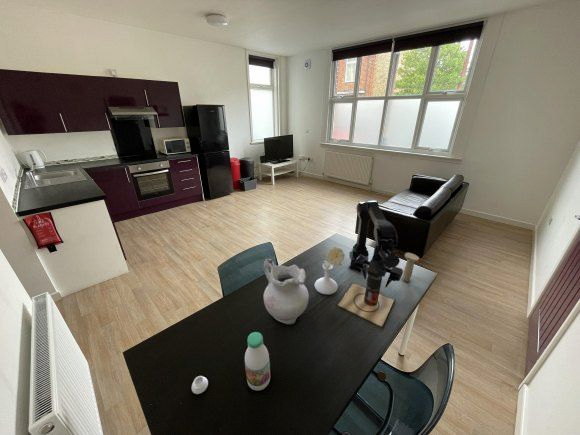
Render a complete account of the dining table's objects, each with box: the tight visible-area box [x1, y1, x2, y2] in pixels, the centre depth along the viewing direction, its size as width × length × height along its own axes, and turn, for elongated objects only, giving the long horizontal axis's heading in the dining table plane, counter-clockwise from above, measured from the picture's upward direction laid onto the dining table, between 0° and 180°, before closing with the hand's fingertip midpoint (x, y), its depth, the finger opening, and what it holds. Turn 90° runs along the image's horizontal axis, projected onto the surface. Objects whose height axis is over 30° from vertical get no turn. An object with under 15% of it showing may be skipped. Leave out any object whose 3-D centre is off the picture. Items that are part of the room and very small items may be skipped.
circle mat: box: [337, 282, 395, 328], centre depth 110 cm, size 20×18×1 cm
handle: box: [402, 252, 420, 283], centre depth 121 cm, size 5×6×15 cm
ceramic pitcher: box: [263, 257, 310, 325], centre depth 101 cm, size 22×20×25 cm
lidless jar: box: [191, 375, 209, 395], centre depth 77 cm, size 5×3×5 cm
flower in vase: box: [314, 246, 345, 295], centre depth 113 cm, size 13×11×25 cm
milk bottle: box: [244, 331, 271, 391], centre depth 76 cm, size 8×8×20 cm
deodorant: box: [364, 274, 383, 306], centre depth 107 cm, size 6×6×15 cm
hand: (375, 282), depth 105 cm, fingers open, 9 cm apart
